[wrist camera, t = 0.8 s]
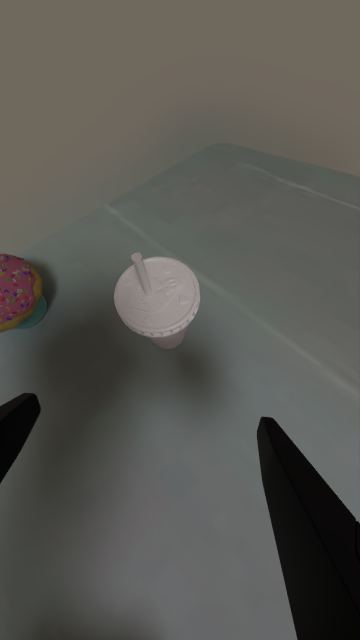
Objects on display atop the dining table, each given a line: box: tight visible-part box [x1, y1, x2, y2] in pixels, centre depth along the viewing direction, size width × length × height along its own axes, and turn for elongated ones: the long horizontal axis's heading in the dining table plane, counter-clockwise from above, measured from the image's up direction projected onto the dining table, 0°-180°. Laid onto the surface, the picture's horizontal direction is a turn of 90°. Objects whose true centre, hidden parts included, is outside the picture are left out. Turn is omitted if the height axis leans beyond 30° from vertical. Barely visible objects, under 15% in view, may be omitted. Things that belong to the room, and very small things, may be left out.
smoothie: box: [114, 253, 200, 350], centre depth 19 cm, size 6×6×14 cm
